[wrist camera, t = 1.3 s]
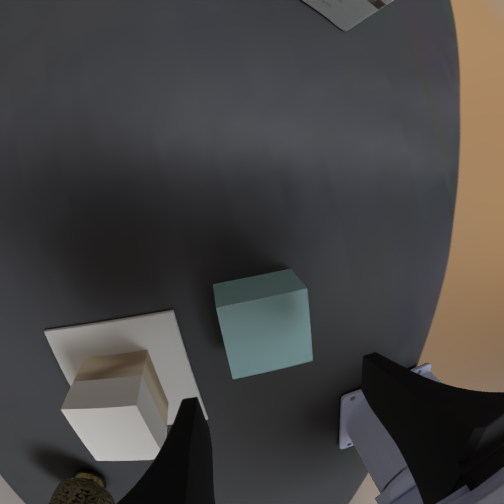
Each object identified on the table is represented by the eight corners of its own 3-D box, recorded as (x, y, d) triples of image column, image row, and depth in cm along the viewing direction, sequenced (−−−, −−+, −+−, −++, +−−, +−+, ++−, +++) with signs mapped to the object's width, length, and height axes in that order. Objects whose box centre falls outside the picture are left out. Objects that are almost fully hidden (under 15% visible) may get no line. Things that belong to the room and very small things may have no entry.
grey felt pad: (173, 309, 20) (173, 311, 19) (208, 416, 23) (208, 419, 22) (45, 329, 18) (44, 331, 18) (97, 427, 21) (96, 429, 21)
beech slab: (147, 350, 20) (142, 374, 17) (168, 402, 21) (167, 428, 19) (84, 358, 19) (73, 381, 17) (109, 408, 21) (103, 432, 18)
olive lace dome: (45, 458, 22) (28, 514, 14) (91, 451, 22) (77, 517, 15) (90, 494, 24) (82, 547, 17) (137, 488, 25) (134, 548, 17)
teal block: (289, 267, 20) (307, 288, 17) (296, 333, 22) (312, 360, 18) (212, 283, 20) (215, 307, 16) (227, 348, 21) (232, 379, 18)
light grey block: (142, 374, 17) (136, 405, 14) (167, 428, 19) (165, 458, 16) (73, 381, 17) (60, 409, 14) (103, 432, 18) (96, 460, 15)
